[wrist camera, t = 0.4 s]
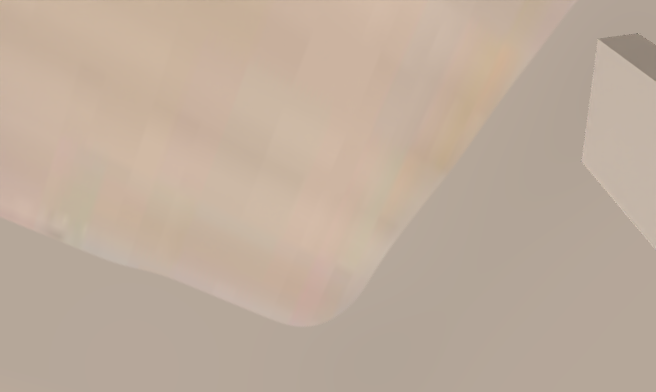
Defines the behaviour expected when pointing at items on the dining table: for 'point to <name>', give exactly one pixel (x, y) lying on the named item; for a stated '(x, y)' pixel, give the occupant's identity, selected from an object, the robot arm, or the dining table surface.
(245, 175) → the dining table surface
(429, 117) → the dining table surface
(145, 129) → the dining table surface
